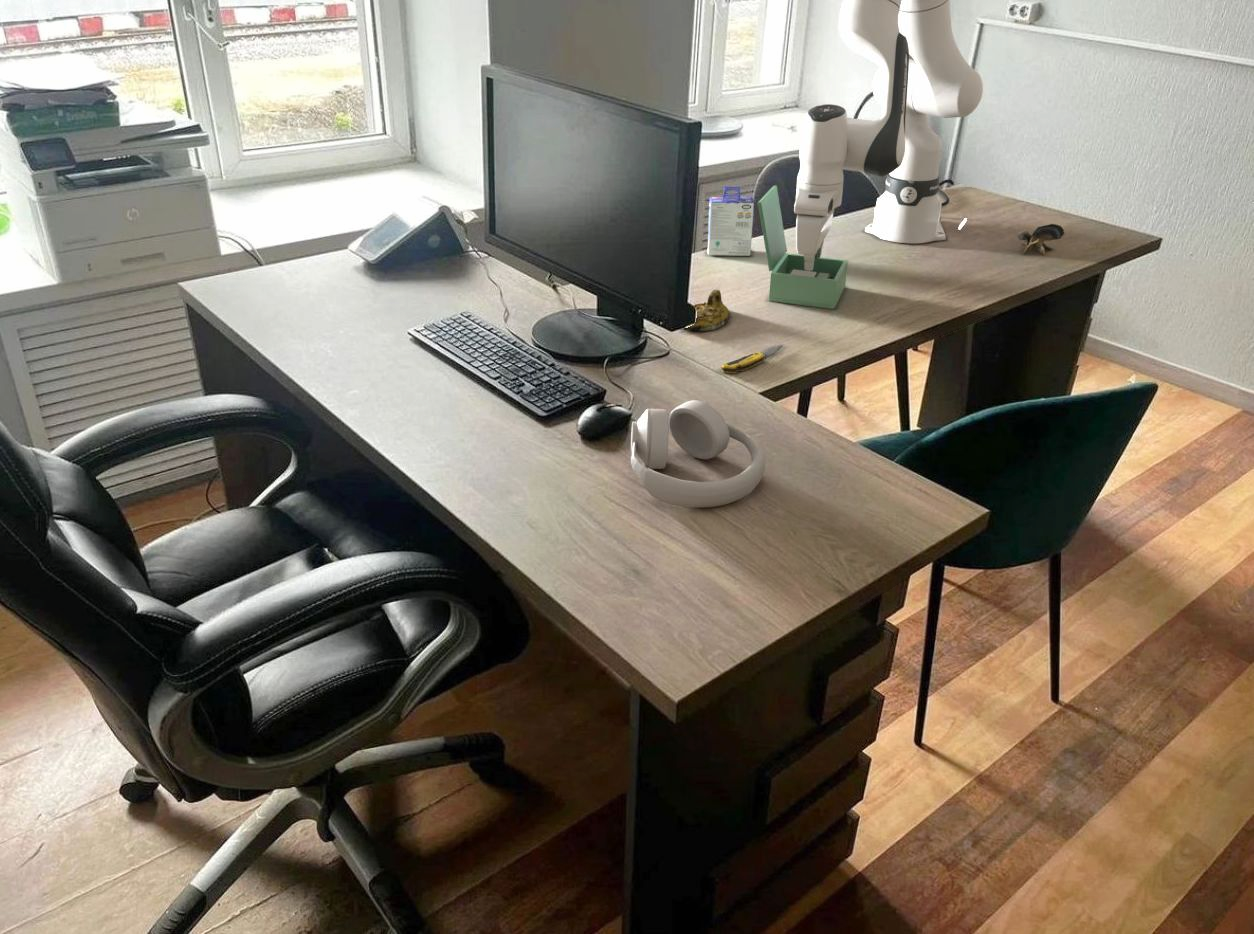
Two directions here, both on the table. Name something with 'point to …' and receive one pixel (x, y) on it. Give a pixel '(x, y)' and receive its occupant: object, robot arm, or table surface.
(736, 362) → the utility knife
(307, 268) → the table surface
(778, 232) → the cover
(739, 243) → the ink cartridge box
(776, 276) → the green box
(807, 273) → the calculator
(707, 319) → the seal
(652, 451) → the headphones
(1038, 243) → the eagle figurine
